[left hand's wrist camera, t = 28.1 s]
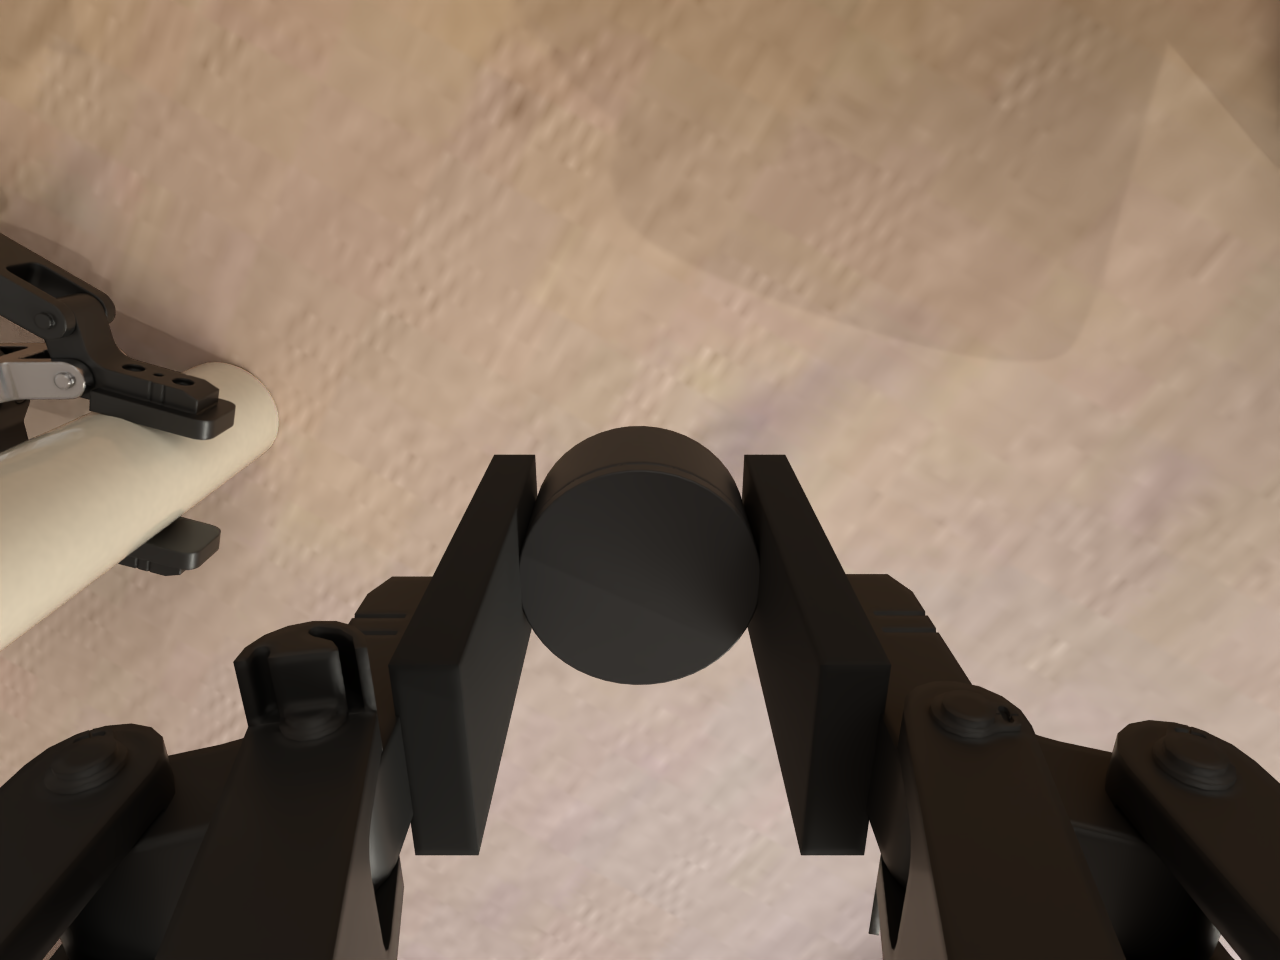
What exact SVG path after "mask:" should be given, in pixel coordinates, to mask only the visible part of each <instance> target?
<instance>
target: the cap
mask: <svg viewBox="0 0 1280 960" xmlns="http://www.w3.org/2000/svg"><path fill="white" fill-rule="evenodd" d="M519 570H520V585H521V600H522V608H523V611H524V613H525V616H526V618H527V620H528V622H529V624H530V625H531V627H532V629H533V631H534V632H535V634H536V635H537V636H538V638H539V639H540V640H541V641H542V643H543V644H544V645H545V646H546V647H547V648H548V649H549V650H550V651H551V652H552V653H553V654H554V655H556V656H557V657H558V658H560V659H561V660H562V661H563V662H565V663H566V664H568V665H570V666H571V667H573V668H575V669H576V670H578V671H581V672H583V673H585V674H587V675H590V676H592V677H595V678H599V679H602V680H605V681H610V682H615V683H620V684H631V685H647V684H657V683H665V682H669V681H673V680H677V679H680V678H683V677H686V676H688V675H691V674H694V673H696V672H698V671H700V670H702V669H704V668H706V667H707V666H709V665H710V664H712V663H713V662H715V661H716V660H718V659H719V658H720V657H721V656H723V655H724V654H725V653H726V652H727V651H729V650H730V649H731V647H732V646H733V645H734V644H735V643H736V642H737V641H738V640H739V639H740V637H741V636H742V634H743V633H744V631H745V630H746V628H747V627H748V625H749V623H750V621H751V619H752V617H753V615H754V613H755V610H756V607H757V603H758V590H759V574H760V557H759V553H758V550H757V546H756V543H755V539H754V537H753V533H752V530H751V527H750V524H749V521H748V517H747V514H746V511H745V508H744V505H743V502H742V499H741V496H740V493H739V490H738V488H737V486H736V483H735V481H734V479H733V478H732V476H731V474H730V473H729V471H728V470H727V468H726V467H725V466H724V465H723V463H722V462H721V461H720V460H719V459H718V458H717V457H716V456H715V455H714V454H713V453H712V452H711V451H710V450H708V449H707V448H705V447H704V446H703V445H701V444H700V443H698V442H696V441H695V440H693V439H691V438H689V437H687V436H685V435H682V434H679V433H677V432H674V431H671V430H667V429H662V428H657V427H647V426H629V427H621V428H616V429H612V430H608V431H605V432H601V433H599V434H596V435H594V436H592V437H589V438H587V439H586V440H584V441H582V442H580V443H579V444H577V445H575V446H574V447H573V448H572V449H570V450H569V451H568V452H566V453H565V454H564V455H563V456H562V457H561V458H560V459H559V460H558V461H557V462H556V463H555V465H554V466H553V467H552V469H551V470H550V472H549V473H548V474H547V476H546V478H545V480H544V482H543V484H542V485H541V488H540V491H539V493H538V496H537V499H536V502H535V506H534V509H533V512H532V516H531V519H530V522H529V526H528V529H527V532H526V536H525V539H524V543H523V545H522V549H521V553H520V558H519Z"/></svg>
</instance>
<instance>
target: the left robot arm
mask: <svg viewBox="0 0 1280 960" xmlns="http://www.w3.org/2000/svg"><path fill="white" fill-rule="evenodd" d="M536 499H537V481H536V462H535V455H494V456H493V458H492V460H491V462H490V464H489V466H488V468H487V470H486V472H485V474H484V476H483V478H482V480H481V482H480V484H479V486H478V488H477V490H476V492H475V494H474V496H473V498H472V500H471V502H470V504H469V506H468V508H467V510H466V512H465V514H464V516H463V518H462V520H461V522H460V524H459V526H458V528H457V529H456V531H455V533H454V535H453V537H452V539H451V541H450V543H449V545H448V547H447V549H446V551H445V553H444V555H443V557H442V559H441V561H440V563H439V565H438V567H437V569H436V571H435V573H434V575H433V577H391V578H390V579H388V580H387V581H385V582H384V583H383V584H381V585H380V586H378V587H377V588H375V589H374V590H373V591H371V592H370V593H368V594H367V596H366V597H365V599H364V600H363V602H362V604H361V605H360V607H359V608H358V610H357V611H356V613H355V618H352V619H351V621H350V622H349V624H345V623H341V622H337V621H311V622H306V623H301V624H295V625H290V626H287V627H284V628H281V629H279V630H276V631H274V632H271V633H268V634H266V635H264V636H262V637H261V638H259V639H258V640H256V641H254V642H253V643H251V644H250V645H248V646H247V647H245V648H244V650H243V651H242V652H241V653H240V654H239V656H238V657H237V658H236V659H235V660H234V662H233V663H234V667H235V671H236V676H237V680H238V684H239V688H240V693H241V697H242V701H243V706H244V710H245V714H246V719H247V723H248V729H247V731H246V734H245V736H244V738H242V739H239V740H235V741H232V742H228V743H225V744H221V745H216V746H212V747H207V748H202V749H198V750H193V751H188V752H184V753H179V754H174V755H169V756H168V754H167V751H166V747H165V744H164V740H163V737H162V736H161V735H160V734H159V733H157V732H156V731H155V730H154V729H153V728H152V727H147V726H142V725H137V724H121V725H110V726H104V727H100V728H95V729H93V730H90V731H89V730H88V731H85V732H82V733H79V734H76V735H74V736H72V737H70V738H68V739H66V740H64V741H62V742H60V743H58V744H56V745H54V746H52V747H49V748H48V749H46V750H45V751H44V752H42V753H41V754H39V755H38V756H37V757H35V758H34V759H33V760H31V761H30V762H29V763H27V764H26V765H24V766H23V767H22V768H21V769H20V770H19V771H18V772H17V773H16V774H15V775H14V776H12V777H11V778H10V779H9V780H8V781H7V782H6V783H5V784H4V785H3V786H2V787H0V960H42V959H43V958H44V957H45V956H46V954H47V953H48V952H49V951H50V950H51V948H52V947H53V946H54V945H55V943H56V942H57V941H58V940H59V938H60V939H61V942H62V944H61V946H60V947H59V948H58V949H57V951H56V952H55V953H54V954H53V956H52V957H51V958H50V959H49V960H397V954H398V944H399V934H400V923H401V913H402V903H403V892H404V883H403V876H402V870H401V863H400V857H399V854H400V851H401V848H402V846H403V843H404V840H405V837H406V834H407V831H408V828H409V826H410V823H411V828H412V835H413V842H414V848H415V855H479V851H480V847H481V842H482V838H483V834H484V829H485V825H486V821H487V817H488V812H489V808H490V804H491V800H492V795H493V791H494V787H495V782H496V778H497V774H498V770H499V765H500V761H501V757H502V753H503V748H504V744H505V740H506V735H507V731H508V727H509V723H510V718H511V714H512V710H513V706H514V701H515V697H516V693H517V688H518V684H519V680H520V676H521V671H522V667H523V663H524V659H525V654H526V650H527V646H528V641H529V637H530V633H531V629H532V627H531V625H530V624H529V622H528V620H527V618H526V616H525V613H524V611H523V608H522V600H521V585H520V570H519V558H520V553H521V549H522V545H523V543H524V539H525V536H526V532H527V529H528V526H529V522H530V519H531V516H532V512H533V509H534V506H535V502H536ZM742 502H743V505H744V508H745V511H746V514H747V517H748V521H749V524H750V527H751V530H752V533H753V537H754V539H755V543H756V546H757V550H758V553H759V557H760V574H759V590H758V603H757V607H756V610H755V613H754V615H753V617H752V619H751V621H750V623H749V625H748V631H749V635H750V639H751V644H752V648H753V652H754V656H755V661H756V665H757V669H758V673H759V678H760V682H761V686H762V691H763V695H764V699H765V703H766V708H767V712H768V716H769V721H770V725H771V729H772V733H773V738H774V742H775V746H776V750H777V755H778V759H779V763H780V768H781V772H782V776H783V780H784V785H785V789H786V793H787V797H788V802H789V806H790V810H791V815H792V819H793V823H794V827H795V832H796V836H797V840H798V844H799V849H800V853H801V855H864V852H865V845H866V838H867V831H868V824H869V820H870V823H871V826H872V829H873V832H874V835H875V837H876V840H877V843H878V846H879V849H880V852H881V857H880V863H879V870H878V876H877V883H876V889H875V896H874V902H873V909H872V915H871V922H870V928H869V934H874V935H879V930H880V932H881V942H882V953H883V960H1234V959H1233V958H1232V957H1231V956H1230V954H1229V953H1228V952H1227V951H1226V949H1225V948H1224V947H1223V946H1222V944H1221V943H1220V942H1219V941H1218V940H1219V938H1220V935H1222V936H1223V937H1224V938H1225V940H1226V941H1227V942H1228V943H1229V945H1230V946H1231V947H1232V948H1233V950H1234V951H1235V952H1236V953H1237V955H1238V956H1239V957H1240V958H1241V960H1280V783H1279V782H1278V781H1277V780H1275V779H1274V778H1273V777H1272V776H1271V775H1270V774H1269V773H1268V772H1267V771H1266V770H1264V769H1263V768H1262V767H1261V766H1260V765H1259V764H1258V763H1257V762H1256V761H1254V760H1253V759H1251V758H1250V757H1249V756H1247V755H1246V754H1245V753H1243V752H1242V751H1240V750H1239V749H1238V748H1236V747H1235V746H1234V745H1232V744H1230V743H1228V742H1226V741H1224V740H1222V739H1220V738H1218V737H1215V736H1213V735H1211V734H1209V733H1208V732H1205V731H1203V730H1200V729H1197V728H1194V727H1188V726H1187V725H1182V724H1178V723H1174V722H1164V721H1153V720H1147V721H1142V722H1137V723H1131V724H1128V725H1127V726H1126V727H1125V728H1124V729H1123V730H1121V731H1120V732H1119V733H1118V735H1117V738H1116V742H1115V745H1114V749H1113V752H1107V751H1102V750H1097V749H1093V748H1088V747H1083V746H1079V745H1074V744H1069V743H1064V742H1060V741H1056V740H1052V739H1049V738H1045V737H1042V736H1038V735H1036V734H1035V732H1034V730H1033V728H1032V725H1031V724H1030V723H1029V721H1028V720H1027V718H1026V717H1025V715H1024V714H1023V713H1022V711H1021V710H1020V709H1019V708H1017V707H1016V706H1015V705H1013V704H1012V703H1011V702H1009V701H1008V700H1006V699H1005V698H1004V697H1002V696H1000V695H998V694H996V693H993V692H991V691H989V690H987V689H984V688H982V687H980V686H975V685H972V684H971V682H970V681H969V679H968V678H967V676H966V674H965V673H964V671H963V670H962V668H961V667H960V665H959V664H958V662H957V660H956V659H955V657H954V656H953V654H952V653H951V651H950V650H949V648H948V646H947V645H946V643H945V642H944V640H943V639H942V637H941V636H940V634H939V633H936V628H935V626H934V625H933V623H932V622H931V620H930V618H929V617H928V616H925V611H924V609H923V607H922V606H921V604H920V603H919V601H918V600H917V598H916V597H915V595H914V593H913V592H912V591H911V590H909V589H908V588H906V587H905V586H904V585H902V584H901V583H899V582H898V581H896V580H895V579H894V578H892V577H891V576H889V575H888V574H845V572H844V570H843V568H842V566H841V564H840V562H839V560H838V558H837V556H836V554H835V552H834V550H833V548H832V546H831V544H830V542H829V540H828V538H827V536H826V535H825V533H824V531H823V529H822V527H821V525H820V523H819V521H818V519H817V517H816V515H815V513H814V511H813V509H812V507H811V505H810V503H809V501H808V499H807V497H806V495H805V493H804V491H803V489H802V487H801V485H800V483H799V481H798V479H797V477H796V475H795V473H794V471H793V469H792V467H791V465H790V463H789V461H788V459H787V457H786V455H744V472H743V490H742Z"/></svg>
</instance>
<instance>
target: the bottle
mask: <svg viewBox="0 0 1280 960" xmlns="http://www.w3.org/2000/svg"><path fill="white" fill-rule="evenodd" d="M181 373H184V374H186V375H191V376H194V377H198V378H201V379H205V380H206V381H208V382H209V383H211V384H212V385H214V386H215V387H217V388H218V389H219V398H220V399H224V400H227V401H230V402H232V403H234V404H235V405H236V409H235V418H234V425H233V426H232V427H231V428H229V429H227V430H226V431H224V432H223V433H221V434H219V435H218V436H216V437H215V438H213V439H209V440H196V439H191V438H187V437H184V436H180V435H176V434H173V433H169V432H165V431H162V430H158V429H155V428H151V427H147V426H144V425H140V424H136V423H133V422H129V421H126V420H124V419H121V418H117V417H113V416H107V415H104V414H100V413H96V412H90V413H88V414H86V415H84V416H81V417H79V418H77V419H75V420H72V421H70V422H68V423H66V424H63V425H61V426H59V427H56V428H54V429H52V430H50V431H47V432H45V433H43V434H41V435H38V436H36V437H34V438H32V439H29V440H27V441H25V442H23V443H20V444H18V445H16V446H13V447H11V448H9V449H7V450H4V451H2V452H0V652H1V651H2V650H3V649H5V648H6V647H7V646H9V645H10V644H11V643H13V642H14V641H15V640H17V639H18V638H19V637H21V636H22V635H23V634H25V633H26V632H27V631H29V630H30V629H31V628H33V627H34V626H35V625H37V624H38V623H39V622H41V621H42V620H43V619H45V618H46V617H47V616H49V615H50V614H51V613H53V612H54V611H55V610H57V609H58V608H59V607H61V606H62V605H63V604H65V603H66V602H67V601H69V600H70V599H71V598H73V597H74V596H75V595H77V594H78V593H79V592H81V591H82V590H83V589H85V588H86V587H87V586H89V585H90V584H91V583H93V582H94V581H95V580H97V579H98V578H99V577H101V576H102V575H103V574H105V573H106V572H107V571H109V570H110V569H111V568H113V567H114V566H115V565H116V564H118V563H119V562H120V561H122V560H123V559H124V558H126V557H127V556H128V555H130V554H131V553H132V552H134V551H135V550H136V549H138V548H139V547H140V546H142V545H143V544H144V543H146V542H147V541H148V540H150V539H151V538H152V537H154V536H155V535H156V534H158V533H159V532H160V531H162V530H163V529H164V528H166V527H167V526H168V525H170V524H171V523H172V522H174V521H175V520H176V519H178V518H179V517H180V516H182V515H183V514H184V513H186V512H187V511H188V510H190V509H191V508H192V507H194V506H195V505H196V504H198V503H199V502H200V501H202V500H203V499H204V498H206V497H207V496H208V495H210V494H211V493H212V492H214V491H215V490H216V489H218V488H219V487H220V486H222V485H223V484H224V483H226V482H227V481H228V480H230V479H231V478H232V477H234V476H235V475H236V474H238V473H239V472H240V471H242V470H243V469H244V468H245V467H247V466H248V465H249V464H251V463H252V462H253V461H255V460H256V459H257V458H259V457H260V456H261V455H263V454H264V453H265V452H266V451H267V450H268V449H269V448H270V447H271V446H272V444H273V442H274V441H275V438H276V436H277V432H278V426H279V418H278V411H277V408H276V405H275V402H274V400H273V398H272V396H271V394H270V393H269V391H268V390H267V389H266V387H265V386H264V385H263V384H262V383H261V382H260V381H259V380H258V379H257V378H256V377H255V376H253V375H252V374H250V373H249V372H247V371H246V370H244V369H242V368H240V367H237V366H234V365H231V364H227V363H221V362H209V363H203V364H199V365H197V366H195V367H192V368H190V369H188V370H185V371H183V372H181Z"/></svg>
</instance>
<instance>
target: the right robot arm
mask: <svg viewBox="0 0 1280 960" xmlns="http://www.w3.org/2000/svg"><path fill="white" fill-rule="evenodd" d="M0 315H1V316H3V317H4V318H6V319H8V320H10V321H12V322H13V323H15V324H17V325H19V326H21V327H22V328H24V329H26V330H28V331H30V332H31V333H33V334H35V335H37V336H39V337H41V338H43V339H44V340H45V343H0V452H2V451H4V450H7V449H9V448H11V447H13V446H16V445H18V444H20V443H23V442H25V441H27V440H28V436H27V432H26V429H25V425H24V418H25V415H26V412H27V409H28V406H29V403H30V399H74V398H77V397H82V398H85V399H89V400H90V409H89V411H93V412H96V413H100V414H104V415H107V416H113V417H117V418H121V419H124V420H126V421H129V422H133V423H136V424H140V425H144V426H147V427H151V428H155V429H158V430H162V431H165V432H169V433H173V434H176V435H180V436H184V437H187V438H191V439H196V440H209V439H213V438H215V437H216V436H218V435H219V434H221V433H223V432H224V431H226V430H227V429H229V428H231V427H232V426H233V425H234V418H235V409H236V405H235V404H234V403H232V402H230V401H227V400H224V399H220V398H219V389H218V388H217V387H215V386H214V385H212V384H211V383H209V382H208V381H206V380H205V379H201V378H198V377H194V376H191V375H186V374H184V373H180V372H174V371H173V370H169V369H166V368H162V367H159V366H155V365H152V364H148V363H145V362H141V361H138V360H134V359H132V358H130V357H128V356H127V355H126V354H125V352H123V351H122V350H121V349H119V348H118V347H117V346H116V344H115V342H114V340H113V337H112V334H111V330H110V327H109V323H111V322H112V321H113V319H114V317H115V306H114V304H113V302H112V300H111V299H110V298H109V297H108V296H107V295H106V294H105V293H103V292H101V291H100V290H98V289H96V288H95V287H93V286H91V285H89V284H88V283H86V282H84V281H82V280H81V279H79V278H77V277H75V276H74V275H72V274H70V273H69V272H67V271H65V270H63V269H62V268H60V267H58V266H56V265H55V264H53V263H51V262H50V261H48V260H46V259H44V258H43V257H41V256H39V255H37V254H36V253H34V252H32V251H30V250H29V249H27V248H25V247H24V246H22V245H20V244H18V243H17V242H15V241H13V240H11V239H10V238H8V237H6V236H4V235H3V234H1V233H0ZM220 534H221V530H220V529H219V528H218V527H216V526H213V525H210V524H206V523H202V522H199V521H195V520H191V519H187V518H183V517H179V518H178V519H176V520H175V521H174V522H172V523H171V524H170V525H168V526H167V527H166V528H164V529H163V530H162V531H160V532H159V533H158V534H156V535H155V536H154V537H152V538H151V539H150V540H148V541H147V542H146V543H144V544H143V545H142V546H140V547H139V548H138V549H136V550H135V551H134V552H132V553H131V554H130V555H128V556H127V557H126V558H124V559H123V560H122V561H120V562H119V563H118V564H121V565H125V566H129V567H133V568H138V569H141V570H145V571H150V572H152V573H156V574H160V575H164V576H170V575H180V574H182V573H183V572H184V571H185V570H191V569H195V568H198V567H199V566H201V565H202V564H203V563H204V562H205V561H206V560H207V559H208V558H209V557H211V556H212V555H213V554H214V553H215V552H216V551H217V550H218V549H219V542H220Z"/></svg>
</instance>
